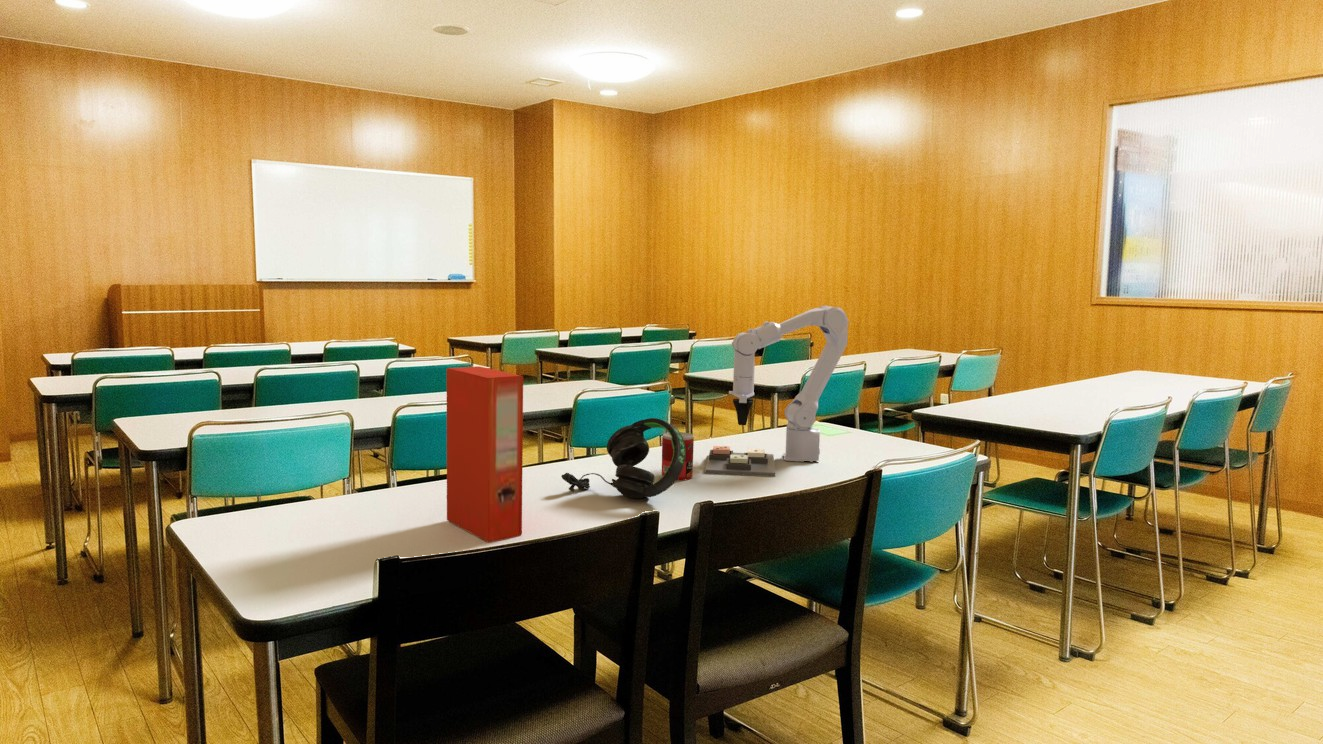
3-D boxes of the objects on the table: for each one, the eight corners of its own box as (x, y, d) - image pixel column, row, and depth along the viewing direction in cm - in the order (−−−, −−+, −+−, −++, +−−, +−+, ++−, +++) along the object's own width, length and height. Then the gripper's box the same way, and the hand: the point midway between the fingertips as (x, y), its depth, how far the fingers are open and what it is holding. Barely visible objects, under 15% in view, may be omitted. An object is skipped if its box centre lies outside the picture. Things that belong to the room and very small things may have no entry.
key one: (764, 453, 236) (764, 449, 235) (764, 457, 231) (764, 452, 231) (747, 453, 236) (747, 448, 236) (747, 456, 232) (747, 452, 231)
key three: (729, 450, 239) (730, 446, 238) (729, 454, 234) (729, 449, 234) (713, 450, 239) (713, 445, 239) (712, 453, 234) (712, 449, 234)
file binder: (482, 514, 183) (481, 365, 179) (523, 535, 169) (523, 375, 165) (446, 521, 177) (445, 368, 173) (486, 543, 164) (485, 378, 160)
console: (773, 457, 242) (773, 449, 242) (775, 476, 221) (775, 467, 220) (709, 455, 244) (709, 446, 244) (705, 473, 222) (705, 464, 222)
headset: (599, 525, 205) (699, 483, 192) (561, 513, 194) (664, 467, 182) (590, 458, 214) (685, 414, 201) (554, 443, 204) (652, 395, 191)
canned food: (692, 481, 214) (694, 438, 213) (661, 480, 214) (661, 437, 213) (692, 473, 222) (693, 432, 220) (661, 473, 222) (662, 431, 221)
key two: (747, 459, 228) (747, 454, 228) (747, 463, 224) (747, 458, 223) (730, 458, 229) (730, 454, 228) (729, 462, 224) (730, 457, 224)
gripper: (730, 372, 244) (728, 419, 246) (728, 379, 229) (727, 429, 231) (754, 373, 243) (753, 420, 245) (755, 380, 229) (753, 430, 230)
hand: (742, 424), depth 238 cm, fingers closed
